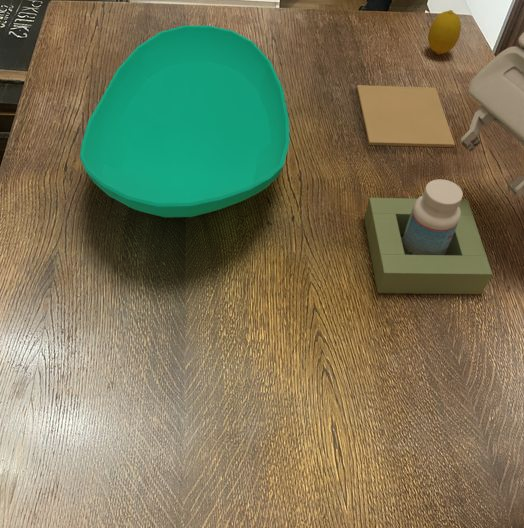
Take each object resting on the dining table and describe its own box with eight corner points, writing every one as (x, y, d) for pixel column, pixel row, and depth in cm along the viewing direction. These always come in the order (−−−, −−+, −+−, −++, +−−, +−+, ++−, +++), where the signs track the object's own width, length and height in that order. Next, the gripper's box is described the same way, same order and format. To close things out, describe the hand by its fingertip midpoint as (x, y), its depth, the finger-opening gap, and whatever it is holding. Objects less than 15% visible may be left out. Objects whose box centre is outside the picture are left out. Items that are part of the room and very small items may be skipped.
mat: (434, 90, 107) (435, 87, 107) (453, 147, 98) (455, 144, 97) (356, 88, 106) (357, 84, 106) (368, 145, 97) (369, 142, 97)
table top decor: (272, 295, 78) (280, 218, 67) (60, 271, 78) (34, 191, 68) (293, 113, 101) (301, 34, 90) (128, 96, 101) (117, 15, 90)
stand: (458, 220, 88) (467, 199, 85) (481, 294, 80) (492, 274, 77) (363, 218, 87) (369, 197, 84) (377, 293, 79) (384, 272, 76)
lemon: (421, 58, 113) (433, 14, 106) (425, 44, 116) (437, 0, 109) (450, 65, 112) (464, 21, 106) (454, 50, 115) (468, 6, 109)
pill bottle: (446, 271, 82) (474, 208, 73) (401, 270, 82) (424, 207, 73) (437, 239, 86) (463, 175, 76) (395, 238, 85) (416, 174, 76)
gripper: (654, 140, 68) (551, 229, 73) (530, 49, 78) (447, 133, 83) (650, 114, 63) (540, 212, 68) (518, 20, 73) (430, 112, 78)
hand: (488, 168), depth 75 cm, fingers open, 8 cm apart
